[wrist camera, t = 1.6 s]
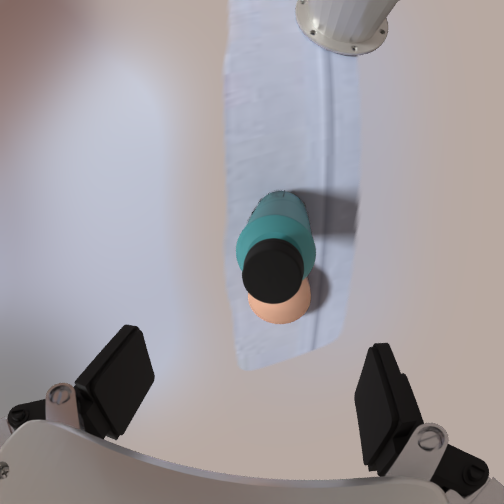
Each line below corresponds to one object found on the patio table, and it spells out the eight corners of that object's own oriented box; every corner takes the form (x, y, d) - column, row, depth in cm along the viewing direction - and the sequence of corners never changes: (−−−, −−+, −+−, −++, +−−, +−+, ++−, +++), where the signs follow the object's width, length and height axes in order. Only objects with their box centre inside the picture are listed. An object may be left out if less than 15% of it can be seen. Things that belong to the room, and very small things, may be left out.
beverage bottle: (260, 184, 35) (222, 220, 16) (311, 192, 34) (334, 238, 16) (254, 232, 37) (214, 313, 19) (303, 240, 37) (310, 329, 18)
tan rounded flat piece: (285, 248, 37) (284, 256, 35) (321, 292, 39) (323, 303, 36) (239, 282, 40) (235, 292, 37) (275, 321, 42) (274, 333, 39)
